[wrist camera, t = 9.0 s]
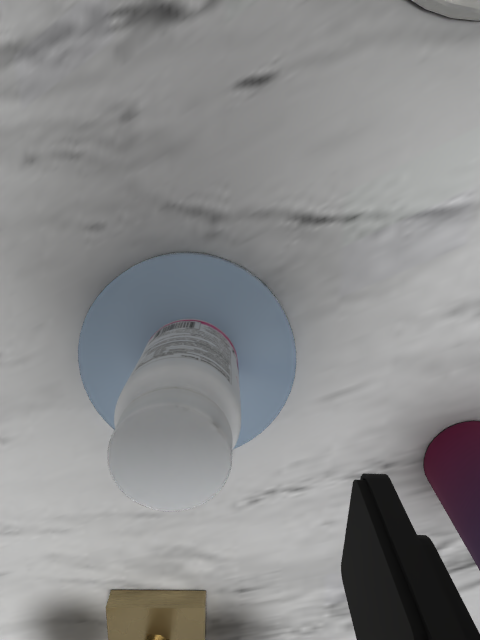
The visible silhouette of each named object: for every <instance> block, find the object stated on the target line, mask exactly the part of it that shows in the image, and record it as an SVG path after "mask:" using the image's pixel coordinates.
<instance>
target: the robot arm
mask: <svg viewBox="0 0 480 640" xmlns="http://www.w3.org/2000/svg"><path fill="white" fill-rule="evenodd" d="M412 1H413V2H415V3H416V4H418V5H420V6H421V7H423V8H424V9H426V10H429V11H432V12H435V13H438V14H441V15H444V16H447V17H450V18H456V19H466V20H476V21H480V0H412ZM341 574H342V580H343V585H344V589H345V593H346V597H347V601H348V605H349V609H350V614H351V618H352V622H353V626H354V630H355V634H356V638H357V640H480V634H479V632H478V630H477V628H476V626H475V624H474V622H473V620H472V618H471V616H470V614H469V612H468V610H467V608H466V606H465V604H464V603H463V601H462V599H461V597H460V595H459V593H458V591H457V589H456V587H455V585H454V583H453V581H452V579H451V577H450V575H449V573H448V571H447V569H446V567H445V565H444V563H443V562H442V560H441V558H440V556H439V554H438V552H437V550H436V548H435V546H434V544H433V543H432V541H431V539H430V538H429V537H427V536H426V535H417V534H416V532H415V530H414V528H413V526H412V524H411V522H410V520H409V518H408V516H407V514H406V511H405V509H404V507H403V505H402V503H401V501H400V499H399V497H398V495H397V493H396V491H395V489H394V486H393V484H392V482H391V480H390V478H389V477H388V475H386V474H362V476H361V479H360V480H354V482H353V487H352V493H351V500H350V507H349V514H348V521H347V528H346V535H345V542H344V549H343V555H342V562H341Z"/></svg>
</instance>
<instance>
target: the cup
mask: <svg viewBox="0 0 480 640" xmlns="http://www.w3.org/2000/svg"><path fill="white" fill-rule="evenodd" d="M424 471H425V475H426V477H427V479H428V481H429V483H430V484H431V486H432V488H433V490H434V491H435V493H436V495H437V497H438V498H439V500H440V502H441V504H442V505H443V507H444V509H445V511H446V512H447V514H448V516H449V518H450V519H451V521H452V523H453V525H454V526H455V528H456V530H457V532H458V533H459V535H460V537H461V538H462V540H463V542H464V544H465V545H466V547H467V549H468V551H469V552H470V554H471V556H472V558H473V559H474V561H475V563H476V565H477V566H478V568H479V570H480V422H479V421H469V422H462V423H459V424H456V425H453V426H451V427H449V428H447V429H446V430H444V431H443V432H441V433H440V434H439V435H438V436H437V437H436V438H435V439H434V440H433V441H432V443H431V444H430V445H429V447H428V449H427V451H426V454H425V458H424Z"/></svg>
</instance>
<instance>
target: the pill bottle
mask: <svg viewBox="0 0 480 640" xmlns="http://www.w3.org/2000/svg"><path fill="white" fill-rule="evenodd" d="M114 425H115V430H114V432H113V434H112V437H111V440H110V442H109V447H108V465H109V470H110V473H111V475H112V478H113V479H114V481H115V483H116V484H117V486H118V487H119V488H120V490H121V491H122V492H123V493H124V494H125V495H127V496H128V497H129V498H130V499H132V500H133V501H135V502H137V503H138V504H140V505H142V506H145V507H148V508H151V509H154V510H159V511H167V512H169V511H182V510H187V509H191V508H194V507H197V506H199V505H201V504H203V503H205V502H207V501H208V500H210V499H211V498H212V497H214V496H215V495H216V494H217V493H218V492H219V491H220V489H221V488H222V487H223V485H224V484H225V482H226V480H227V478H228V476H229V473H230V470H231V464H232V450H233V449H234V447H235V445H236V442H237V440H238V437H239V433H240V428H241V402H240V387H239V370H238V359H237V354H236V350H235V347H234V345H233V343H232V342H231V340H230V339H229V337H228V336H227V335H226V334H225V333H224V332H223V331H222V330H220V329H219V328H218V327H216V326H215V325H213V324H211V323H209V322H206V321H203V320H199V319H180V320H176V321H173V322H170V323H168V324H166V325H164V326H163V327H161V328H160V329H159V330H158V331H157V332H156V333H155V334H154V335H153V336H152V337H151V338H150V340H149V342H148V343H147V345H146V347H145V349H144V351H143V353H142V355H141V357H140V359H139V361H138V363H137V364H136V366H135V368H134V370H133V372H132V373H131V375H130V377H129V379H128V381H127V382H126V384H125V386H124V388H123V390H122V392H121V394H120V396H119V398H118V401H117V404H116V408H115V413H114Z"/></svg>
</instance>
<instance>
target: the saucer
mask: <svg viewBox="0 0 480 640" xmlns="http://www.w3.org/2000/svg"><path fill="white" fill-rule="evenodd" d="M180 319H199V320H203V321H206V322H209V323H211V324H213V325H215V326H216V327H218V328H219V329H220V330H222V331H223V332H224V333H225V334H226V335H227V336H228V337H229V339H230V340H231V342H232V343H233V345H234V347H235V350H236V354H237V359H238V370H239V387H240V402H241V428H240V433H239V437H238V440H237V442H236V445H235V447H234V448H237V447H239V446H241V445H243V444H245V443H247V442H248V441H250V440H252V439H253V438H254V437H256V436H257V435H258V434H260V433H261V432H262V431H263V430H264V429H265V428H266V427H268V426H269V425H270V424H271V422H272V421H273V420H274V419H275V418H276V416H277V415H278V414H279V412H280V411H281V409H282V408H283V406H284V404H285V403H286V400H287V398H288V396H289V394H290V391H291V388H292V384H293V381H294V376H295V369H296V349H295V342H294V337H293V334H292V330H291V327H290V324H289V322H288V320H287V317H286V315H285V313H284V311H283V308H282V307H281V305H280V304H279V302H278V300H277V299H276V297H275V296H274V295H273V293H272V292H271V291H270V290H269V289H268V287H267V286H266V285H265V284H264V283H263V282H261V281H260V280H259V279H258V278H257V277H256V276H255V275H253V274H252V273H250V272H249V271H247V270H246V269H245V268H243V267H241V266H239V265H237V264H235V263H233V262H231V261H228V260H226V259H223V258H220V257H217V256H212V255H208V254H203V253H192V252H182V253H171V254H165V255H160V256H156V257H153V258H150V259H147V260H145V261H143V262H140V263H138V264H136V265H134V266H132V267H131V268H129V269H128V270H126V271H125V272H123V273H122V274H120V275H119V276H118V277H117V278H115V279H114V280H113V281H112V282H111V283H110V284H108V285H107V286H106V287H105V288H104V290H103V291H102V292H101V293H100V294H99V295H98V297H97V298H96V299H95V301H94V303H93V304H92V306H91V307H90V309H89V311H88V313H87V315H86V318H85V320H84V322H83V326H82V330H81V333H80V339H79V346H78V362H79V368H80V375H81V378H82V381H83V385H84V388H85V390H86V392H87V394H88V397H89V399H90V400H91V402H92V404H93V405H94V407H95V409H96V410H97V411H98V413H99V414H100V415H101V416H102V418H103V419H104V420H105V421H106V422H107V423H108V424H109V425H110V426H111V427H112V428H113V429H114V430H115V425H114V413H115V408H116V404H117V401H118V398H119V396H120V394H121V392H122V390H123V388H124V386H125V384H126V382H127V381H128V379H129V377H130V375H131V373H132V372H133V370H134V368H135V366H136V364H137V363H138V361H139V359H140V357H141V355H142V353H143V351H144V349H145V347H146V345H147V343H148V342H149V340H150V338H151V337H152V336H153V335H154V334H155V333H156V332H157V331H158V330H159V329H160V328H161V327H163V326H164V325H166V324H168V323H170V322H173V321H176V320H180Z"/></svg>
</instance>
